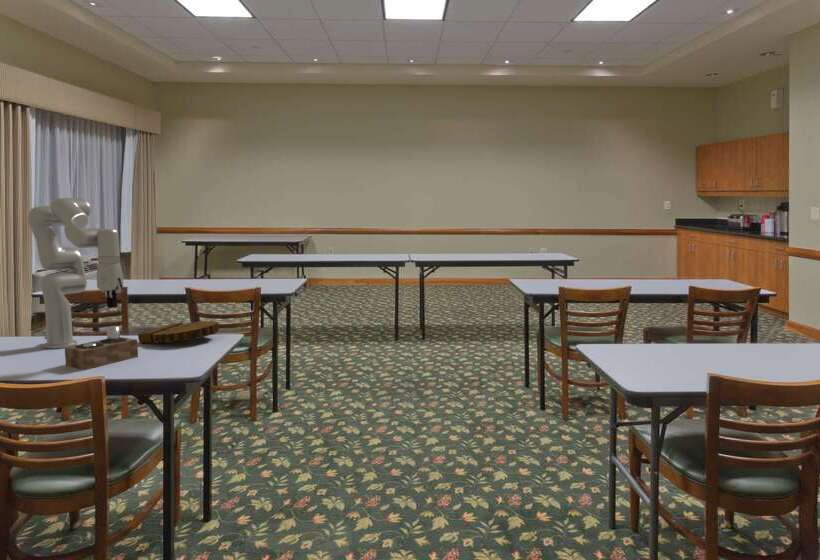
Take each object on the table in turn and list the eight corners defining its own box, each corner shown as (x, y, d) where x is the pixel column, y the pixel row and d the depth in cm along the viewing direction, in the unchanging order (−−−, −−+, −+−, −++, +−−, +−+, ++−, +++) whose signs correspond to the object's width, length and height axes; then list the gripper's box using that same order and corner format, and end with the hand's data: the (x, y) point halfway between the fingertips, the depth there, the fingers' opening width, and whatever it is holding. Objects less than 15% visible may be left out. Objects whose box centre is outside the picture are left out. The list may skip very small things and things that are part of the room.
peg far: (105, 346, 230) (104, 327, 229) (115, 344, 234) (114, 325, 233) (112, 347, 228) (111, 328, 227) (122, 345, 232) (121, 326, 231)
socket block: (65, 365, 220) (64, 346, 219) (118, 353, 240) (117, 335, 239) (85, 369, 215) (84, 349, 214) (138, 356, 234) (137, 338, 233)
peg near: (81, 364, 222) (80, 344, 221) (92, 361, 226) (91, 342, 225) (89, 365, 220) (87, 346, 219) (99, 363, 224) (98, 343, 223)
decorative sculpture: (135, 349, 254) (197, 345, 247) (133, 335, 253) (194, 330, 247) (175, 335, 283) (232, 331, 276) (173, 322, 282) (230, 317, 276)
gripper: (88, 260, 227) (91, 307, 229) (113, 262, 220) (116, 310, 222) (105, 259, 234) (108, 304, 236) (130, 260, 227) (133, 307, 229)
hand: (112, 307), depth 229 cm, fingers closed
